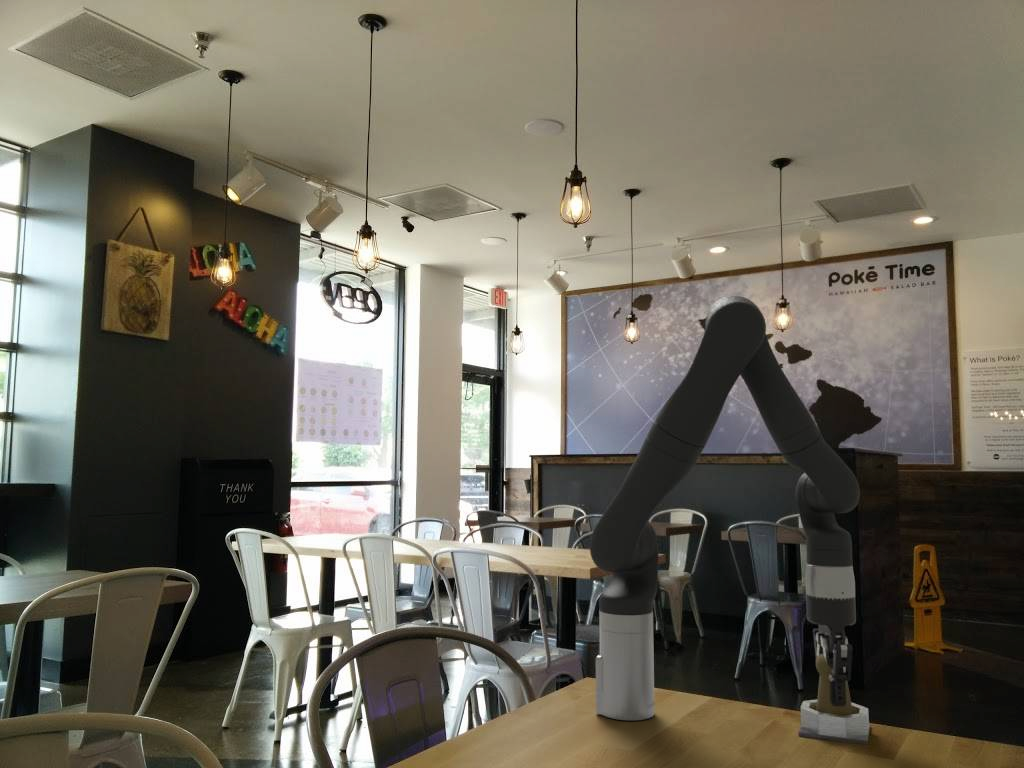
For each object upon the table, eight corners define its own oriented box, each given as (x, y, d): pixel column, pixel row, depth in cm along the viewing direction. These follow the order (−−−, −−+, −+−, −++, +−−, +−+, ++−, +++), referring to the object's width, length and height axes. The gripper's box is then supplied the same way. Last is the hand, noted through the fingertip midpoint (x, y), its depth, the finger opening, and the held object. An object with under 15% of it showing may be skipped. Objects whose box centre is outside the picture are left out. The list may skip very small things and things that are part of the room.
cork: (842, 718, 139) (839, 649, 140) (863, 729, 133) (860, 657, 134) (808, 719, 138) (805, 650, 139) (827, 730, 132) (824, 658, 133)
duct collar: (798, 736, 133) (798, 712, 134) (805, 718, 142) (804, 696, 143) (867, 745, 129) (866, 720, 129) (870, 726, 138) (869, 703, 138)
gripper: (868, 600, 130) (872, 715, 129) (841, 586, 144) (844, 690, 143) (818, 599, 131) (821, 713, 129) (795, 586, 145) (798, 688, 143)
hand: (833, 700), depth 136 cm, fingers closed on cork, 4 cm apart
